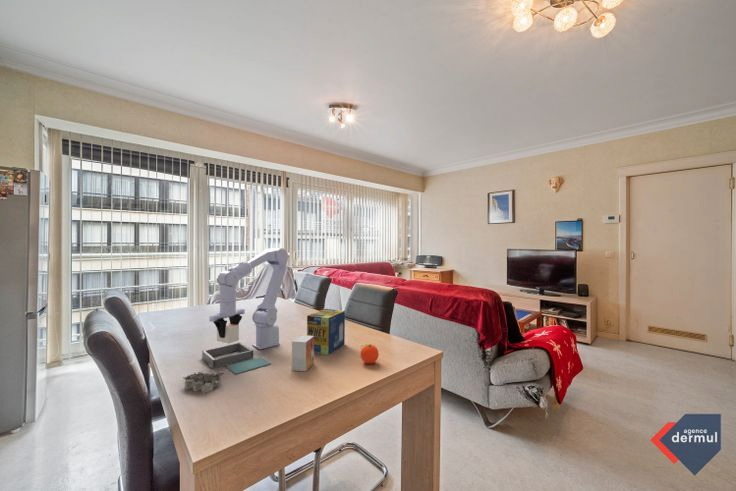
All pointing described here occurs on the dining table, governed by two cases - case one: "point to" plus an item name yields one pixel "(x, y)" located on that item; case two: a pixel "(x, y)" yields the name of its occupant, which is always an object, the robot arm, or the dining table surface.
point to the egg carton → (198, 380)
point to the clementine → (369, 353)
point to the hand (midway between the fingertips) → (227, 335)
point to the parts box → (229, 334)
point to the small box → (302, 353)
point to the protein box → (327, 330)
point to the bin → (227, 360)
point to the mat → (248, 365)
